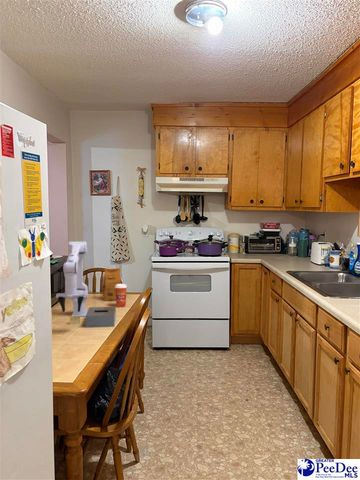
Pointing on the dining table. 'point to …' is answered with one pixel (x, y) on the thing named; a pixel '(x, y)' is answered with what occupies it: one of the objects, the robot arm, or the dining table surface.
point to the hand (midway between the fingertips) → (71, 311)
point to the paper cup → (121, 295)
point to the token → (74, 319)
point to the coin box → (100, 317)
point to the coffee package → (111, 283)
